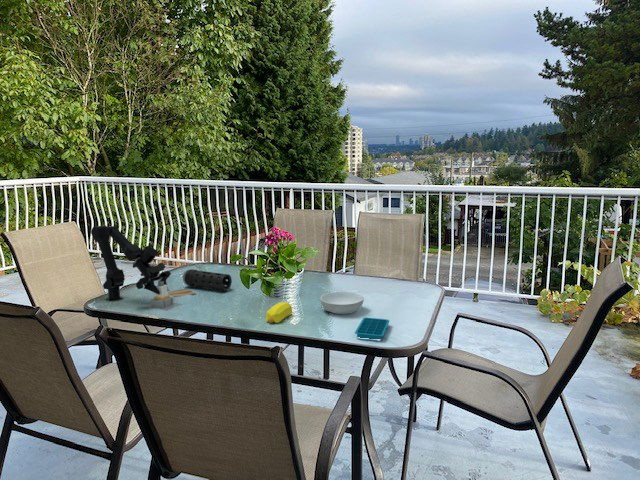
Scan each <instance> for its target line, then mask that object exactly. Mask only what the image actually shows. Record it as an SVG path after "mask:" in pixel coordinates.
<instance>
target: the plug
mask: <svg viewBox="0 0 640 480" xmlns="http://www.w3.org/2000/svg"><path fill="white" fill-rule="evenodd" d="M155 286H156V287H157V289H158V290H159V292H160V294H159V295H158V294H156V293H155V295H154V296H153V298H154V299H156V300H162V301H163V300H165V299H168V298H169V297H170V295H169V294H168V292H169V291H168V290H169V288H168V289H167V287H168V284H167V285H164V281H159V282H158V281H157V285H155Z"/></svg>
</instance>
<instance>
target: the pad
mask: <svg viewBox="0 0 640 480" xmlns="http://www.w3.org/2000/svg"><path fill="white" fill-rule="evenodd" d="M168 295H169V296H170V297H173V298H178V297H184V296H196V295H197V293H196V292H194V291H193V290H191V289H188V288H184V289H183V288H182V289H178V290H176V289H175V290H172V291H168Z"/></svg>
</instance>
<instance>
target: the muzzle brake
mask: <svg viewBox="0 0 640 480" xmlns="http://www.w3.org/2000/svg"><path fill="white" fill-rule="evenodd" d="M182 282H183V283H184V284H185V285H186V286H188V287H189V286H190V287H195V288H196V289H202V288H203V289H204V288H205V289H208V290H212V291H217V292H218V291H219V292H223V293H224V292H225V293H226V292H228V291H229V290H230V288H231V286H232V276H231V275H230V274H229V273H228V274H227V273H220V272H214V271H213V272H211V271H203V270H198V269H192V268H191V269H187V270H185V271H184V272H183V274H182Z"/></svg>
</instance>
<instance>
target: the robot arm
mask: <svg viewBox="0 0 640 480" xmlns="http://www.w3.org/2000/svg"><path fill="white" fill-rule="evenodd" d="M90 233H91V236H92V239H93V240H94V241H95V242H96V243H97V244H98V246H99V248H100V252H101V256H102V258H103V262H104V264H105V268H106V273H105V282H104V283H103V284H102V288H103V289H104V290H107V297H106V298H107V299H106V300H107V301H109V302H112V301H117V300H123V297H122V296H121V290H120V288H121V287H124V283H125V280H126V278H125V277H126V276H125V274H124V270H123V269H122V268H121V269H120V268H119V267H118V265H117V262H116V259H115V256H114V252H113V251H112V250H113V249H112V246H111V244H110V238H112V240H113V241H115V242H116V244H117V245H118V246H119V247H120V248H121V249H122V250H123V255H124V256H125V257H126V259H127V260H128V261H131V262H132V261H134V262H132V268H137V269H138V271H139V272H140V276H141V278H140V279H139V280H138V281H137V282H136V284H135V285H136V286H135V287H136V288H137V289H138V290H141V289H144V290H147V291H150V292H151V293H152V292H153V293H155V295H156V294H158V295H159V294H160V292H159V290H158V289H157V287H156V286H157V285H155V281H157V283H158V282H159V281H164V285H167V289H168V292H170V291H169V288H168V287H169V286H168V283H167V280H168V278H169V277H170V276H171V275H172V273H171V272H170V271H169V270H165V269H166V266H165V264H164V262H160V263H157V264H156V265H151V263H152V262H153V260H154V259H155V258H156V257H157V256H158V255H159V254H158V250H157V249H155V247H152V246H150V245H146V246H145V247H144V248H143V249H142V248H141V247H140V246H138V245H137V244H134V243H132V242H131V241H130V240H129V239H128V238H127V237H126V236H125V235H124V234H123V233H122V232H121V231H120V229H118V227H117V226H116V225H111V226H107V225H104V224H103V225H98V226H93V227H91V230H90Z"/></svg>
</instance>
